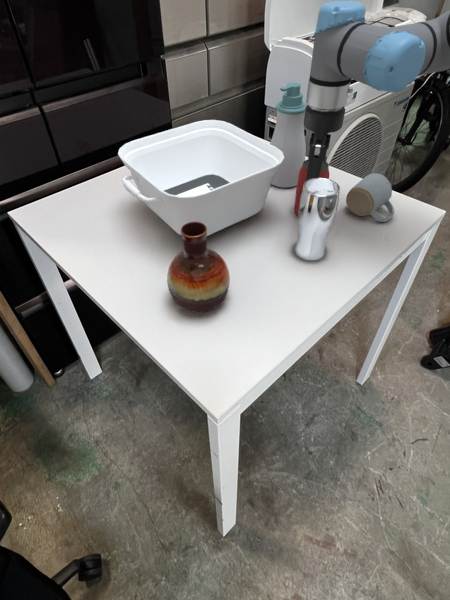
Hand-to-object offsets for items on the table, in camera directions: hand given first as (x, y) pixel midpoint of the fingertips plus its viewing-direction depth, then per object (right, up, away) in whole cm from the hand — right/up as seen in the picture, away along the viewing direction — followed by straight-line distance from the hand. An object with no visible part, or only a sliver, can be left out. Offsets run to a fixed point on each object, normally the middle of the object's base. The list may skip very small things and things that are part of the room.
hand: (309, 203), depth 86 cm
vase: (-24, -22, -17) cm, 37 cm away
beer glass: (-2, -12, -8) cm, 15 cm away
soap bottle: (-4, +9, +13) cm, 16 cm away
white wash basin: (-25, -2, +3) cm, 25 cm away
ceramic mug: (+15, -2, +2) cm, 15 cm away
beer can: (0, -2, +2) cm, 3 cm away
